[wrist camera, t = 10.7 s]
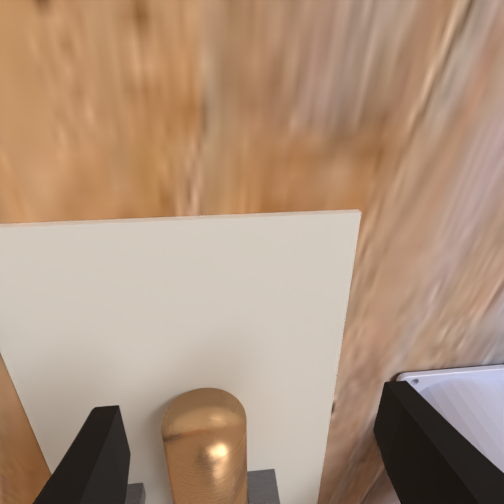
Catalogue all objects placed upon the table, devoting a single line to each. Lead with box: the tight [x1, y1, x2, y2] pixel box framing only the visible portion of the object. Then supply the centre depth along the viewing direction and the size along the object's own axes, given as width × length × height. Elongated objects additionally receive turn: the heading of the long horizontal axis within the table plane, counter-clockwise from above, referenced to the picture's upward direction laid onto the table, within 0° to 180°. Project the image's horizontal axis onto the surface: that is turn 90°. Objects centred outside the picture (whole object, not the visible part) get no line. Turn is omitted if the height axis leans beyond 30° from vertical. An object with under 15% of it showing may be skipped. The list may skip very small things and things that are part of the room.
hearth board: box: [0, 209, 361, 504], centre depth 24 cm, size 18×28×1 cm, turn 0°
